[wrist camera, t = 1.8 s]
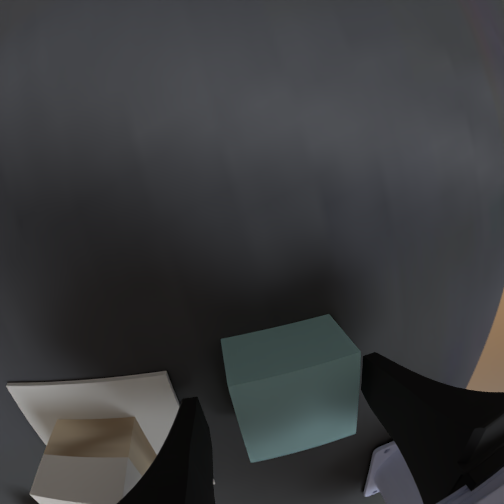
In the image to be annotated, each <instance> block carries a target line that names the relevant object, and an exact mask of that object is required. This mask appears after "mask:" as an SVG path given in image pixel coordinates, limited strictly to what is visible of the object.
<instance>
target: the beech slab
mask: <svg viewBox="0 0 504 504" xmlns="http://www.w3.org/2000/svg"><path fill="white" fill-rule="evenodd" d="M44 454H47V455H58V456H73V457H128V458H129V459H130V460H131V462H132V463H133V465H134V466H135V467H136V469H137V470H138V471H139V473H140V474H141V476H143V475H144V474H145V472H146V471H147V470H148V468H149V467H150V465H151V464H152V462H153V461H154V459H155V458H156V456H157V454H156V453H155V451H154V449H153V448H152V446H151V444H150V443H149V441H148V439H147V438H146V436H145V434H144V432H143V431H142V429H141V427H140V425H139V423H138V422H137V420H136V418H135V417H125V418H108V419H57V421H56V424H55V426H54V429H53V431H52V433H51V436H50V438H49V441H48V443H47V446H46V449H45V451H44Z"/></svg>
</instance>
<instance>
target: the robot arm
mask: <svg viewBox="0 0 504 504" xmlns="http://www.w3.org/2000/svg"><path fill="white" fill-rule="evenodd" d="M361 390H362V392H363V394H364V396H365V399H366V400H367V402H368V404H369V406H370V408H371V409H372V411H373V412H374V414H375V415H376V416H377V418H378V419H379V421H380V422H381V423H382V425H383V426H384V428H385V429H386V430H387V432H388V433H389V435H390V436H391V437H392V439H393V440H394V441H392V442H389V443H387V444H385V445H382V446H380V447H378V448H376V449H375V450H374V451H373V454H372V459H371V463H370V468H369V472H368V476H367V481H366V485H365V489H364V492H363V494H364V496H365V497H368V496H370V495H373V494H375V493H378V492H380V493H381V495H382V497H383V499H384V500H385V502H386V504H504V393H503V392H481V391H473V390H467V389H462V388H457V387H453V386H450V385H446V384H443V383H440V382H437V381H434V380H431V379H429V378H427V377H424V376H422V375H419V374H417V373H415V372H413V371H411V370H409V369H407V368H405V367H403V366H401V365H399V364H397V363H395V362H393V361H391V360H389V359H388V358H386V357H384V356H382V355H380V354H378V353H376V352H374V353H371V354H368V355H365V356H363V368H362V384H361ZM117 504H215V499H214V488H213V460H212V444H211V438H210V431H209V427H208V424H207V421H206V419H205V416H204V413H203V411H202V408H201V405H200V402H199V400H198V397H192V398H185V399H183V400H182V401H181V404H180V407H179V409H178V412H177V415H176V417H175V420H174V422H173V425H172V427H171V429H170V431H169V434H168V436H167V438H166V440H165V442H164V444H163V445H162V447H161V449H160V451H159V453H158V454H157V456H156V458H155V459H154V461H153V462H152V464H151V465H150V467H149V468H148V470H147V471H146V472H145V474H144V475H143V476H142V478H141V479H140V480H139V481H138V482H137V484H136V485H135V486H134V487H133V488H132V489H131V490H130V491H129V492H128V493H127V494H126V495H125V496H124V497H123V498H122V499H121V500H120V501H119V502H118V503H117Z"/></svg>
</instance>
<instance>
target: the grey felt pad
mask: <svg viewBox="0 0 504 504" xmlns="http://www.w3.org/2000/svg"><path fill="white" fill-rule="evenodd" d="M6 387H7V388H8V390H9V392H10V393H11V395H12V397H13V398H14V400H15V402H16V403H17V405H18V406H19V408H20V409H21V411H22V412H23V414H24V415H25V417H26V418H27V420H28V421H29V423H30V424H31V426H32V427H33V428H34V430H35V431H36V432H37V434H38V435H39V437H40V438H41V439H42V441H43V442H44V443H45V444H46V446H47V443H48V441H49V438H50V436H51V433H52V431H53V429H54V426H55V424H56V421H57V419H108V418H125V417H135V418H136V420H137V422H138V423H139V425H140V427H141V429H142V431H143V432H144V434H145V436H146V438H147V439H148V441H149V443H150V444H151V446H152V448H153V449H154V451H155V453H156V454H158V453H159V451H160V449H161V447H162V445H163V444H164V442H165V440H166V438H167V436H168V434H169V431H170V429H171V427H172V425H173V422H174V420H175V417H176V415H177V412H178V409H179V407H180V404H179V401H178V399H177V396H176V394H175V391H174V389H173V386H172V384H171V381H170V379H169V376H168V373H167V371H160V372H153V373H145V374H137V375H129V376H120V377H110V378H100V379H88V380H74V381H57V382H31V383H7V385H6ZM213 484H215V480H214V478H213Z"/></svg>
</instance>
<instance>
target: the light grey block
mask: <svg viewBox="0 0 504 504" xmlns="http://www.w3.org/2000/svg"><path fill="white" fill-rule="evenodd" d="M141 478H142V476H141V474H140V473H139V471H138V470H137V469H136V467H135V466H134V465H133V463H132V462H131V460H130V459H129V458H128V457H73V456H58V455H47V454H43V457H42V459H41V462H40V465H39V467H38V470H37V473H36V476H35V479H34V482H33V485H32V488H31V491H30V495H31V496H32V497H33V498H34V499H35V500H36V501H37V502H38V503H39V504H117V503H118V502H119V501H120V500H121V499H122V498H123V497H124V496H125V495H126V494H127V493H128V492H129V491H130V490H131V489H132V488H133V487H134V486H135V485H136V484H137V482H138V481H139V480H140V479H141Z"/></svg>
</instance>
